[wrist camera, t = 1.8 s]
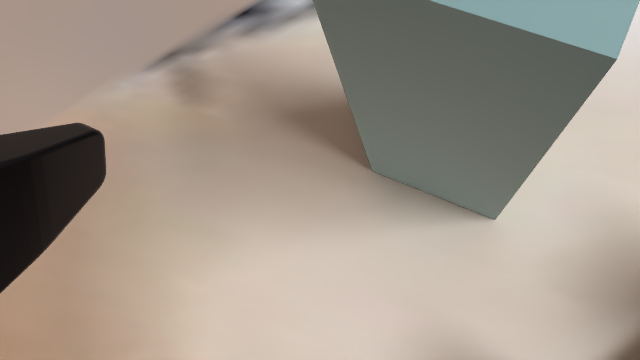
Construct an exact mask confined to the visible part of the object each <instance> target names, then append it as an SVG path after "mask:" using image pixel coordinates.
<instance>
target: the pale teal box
mask: <svg viewBox="0 0 640 360" xmlns="http://www.w3.org/2000/svg"><path fill="white" fill-rule="evenodd" d="M639 1H640V0H313V2H314V5H315V8H316V11H317V14H318V17H319V20H320V23H321V25H322V28H323V31H324V34H325V37H326V40H327V43H328V45H329V48H330V51H331V54H332V57H333V60H334V63H335V66H336V68H337V71H338V74H339V77H340V80H341V83H342V86H343V88H344V91H345V94H346V97H347V100H348V103H349V106H350V109H351V111H352V114H353V117H354V120H355V123H356V126H357V129H358V132H359V134H360V137H361V140H362V143H363V146H364V149H365V152H366V154H367V157H368V160H369V163H370V166H371V169H372V171H373V172H376V173H378V174H381V175H383V176H386V177H388V178H391V179H394V180H396V181H399V182H401V183H404V184H406V185H409V186H411V187H414V188H416V189H419V190H421V191H424V192H426V193H429V194H431V195H434V196H436V197H439V198H441V199H444V200H447V201H449V202H452V203H454V204H457V205H459V206H462V207H464V208H467V209H469V210H472V211H474V212H477V213H479V214H482V215H484V216H487V217H489V218H492V219H494V220H495V219H496V218H497V217H498V215H499V214H500V213H501V211H502V210H503V209H504V207H505V206H506V205H507V204H508V202H509V201H510V200H511V198H512V197H513V196H514V194H515V193H516V192H517V190H518V189H519V188H520V186H521V185H522V184H523V182H524V181H525V180H526V178H527V177H528V176H529V175H530V173H531V172H532V171H533V169H534V168H535V167H536V165H537V164H538V163H539V161H540V160H541V159H542V157H543V156H544V155H545V153H546V152H547V151H548V149H549V148H550V147H551V146H552V144H553V143H554V142H555V140H556V139H557V138H558V136H559V135H560V134H561V132H562V131H563V130H564V128H565V127H566V126H567V124H568V123H569V122H570V120H571V119H572V118H573V117H574V115H575V114H576V113H577V111H578V110H579V109H580V107H581V106H582V105H583V103H584V102H585V101H586V99H587V98H588V97H589V95H590V94H591V93H592V91H593V90H594V89H595V88H596V86H597V85H598V84H599V82H600V81H601V80H602V78H603V77H604V76H605V74H606V73H607V72H608V70H609V69H610V68H611V66H612V65H613V64H614V62H615V61H616V60H617V58H618V55H619V53H620V50H621V48H622V45H623V43H624V40H625V37H626V35H627V32H628V30H629V27H630V24H631V22H632V19H633V17H634V14H635V11H636V9H637V6H638V4H639Z"/></svg>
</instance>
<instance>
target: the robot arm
mask: <svg viewBox="0 0 640 360" xmlns="http://www.w3.org/2000/svg"><path fill="white" fill-rule="evenodd" d="M105 176H106V159H105V141H104V137H103V135H102V133H101V132H100V131H98V130H96V129H94V128H92V127H89V126H87V125H85V124H81V123H73V124H67V125H60V126H54V127H48V128H41V129H35V130H29V131H22V132H16V133H10V134H3V135H0V293H1V292H2V291H3V290H4V289H5V288H6V287H8V286H9V285H10V284H11V283H12V282H13V281H14V280H15V279H16V278H17V277H18V276H19V275H20V274H21V273H22V272H23V271H24V270H26V269H27V268H28V267H29V266H30V265H31V264H32V263H33V262H34V261H35V260H36V259H37V258H38V257H39V256H40V255H41V254H42V253H43V252H44V251H45V250H46V249H47V248H48V247H49V245H50V244H51V243H52V242H53V241H54V240H55V239H56V238H57V236H58V235H59V234H60V233H61V232H62V231H63V230H64V228H65V227H66V226H67V225H68V224H69V223H70V221H71V220H72V219H73V218H74V217H75V216H76V214H77V213H78V212H79V211H80V210H81V209H82V207H83V206H84V205H85V204H86V203H87V202H88V201H89V199H90V198H91V197H92V196H93V195H94V194H95V192H96V191H97V190H98V189H99V188H100V186H101V185H102V183H103V181H104V179H105Z"/></svg>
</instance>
